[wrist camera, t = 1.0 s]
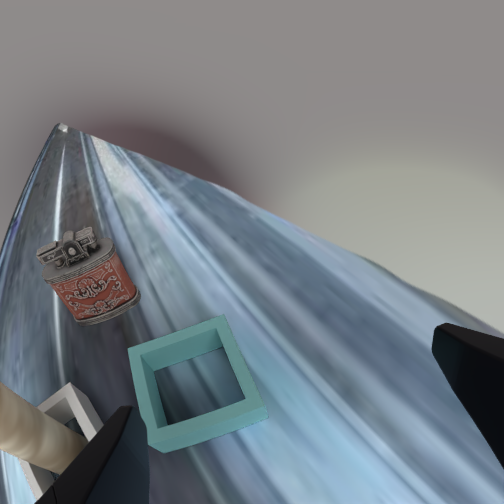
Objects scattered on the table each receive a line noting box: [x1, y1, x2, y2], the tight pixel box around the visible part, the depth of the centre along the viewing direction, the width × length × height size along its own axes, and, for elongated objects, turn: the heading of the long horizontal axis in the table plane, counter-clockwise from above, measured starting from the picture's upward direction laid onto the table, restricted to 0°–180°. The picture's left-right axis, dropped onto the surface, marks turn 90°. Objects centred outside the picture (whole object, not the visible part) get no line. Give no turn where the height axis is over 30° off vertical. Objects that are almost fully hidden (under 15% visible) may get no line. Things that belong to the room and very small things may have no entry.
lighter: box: [37, 227, 141, 326], centre depth 28 cm, size 8×3×10 cm, turn 114°
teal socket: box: [128, 314, 269, 453], centre depth 23 cm, size 9×9×3 cm
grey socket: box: [18, 382, 104, 500], centre depth 18 cm, size 9×9×3 cm
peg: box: [0, 382, 89, 475], centre depth 15 cm, size 4×4×13 cm
